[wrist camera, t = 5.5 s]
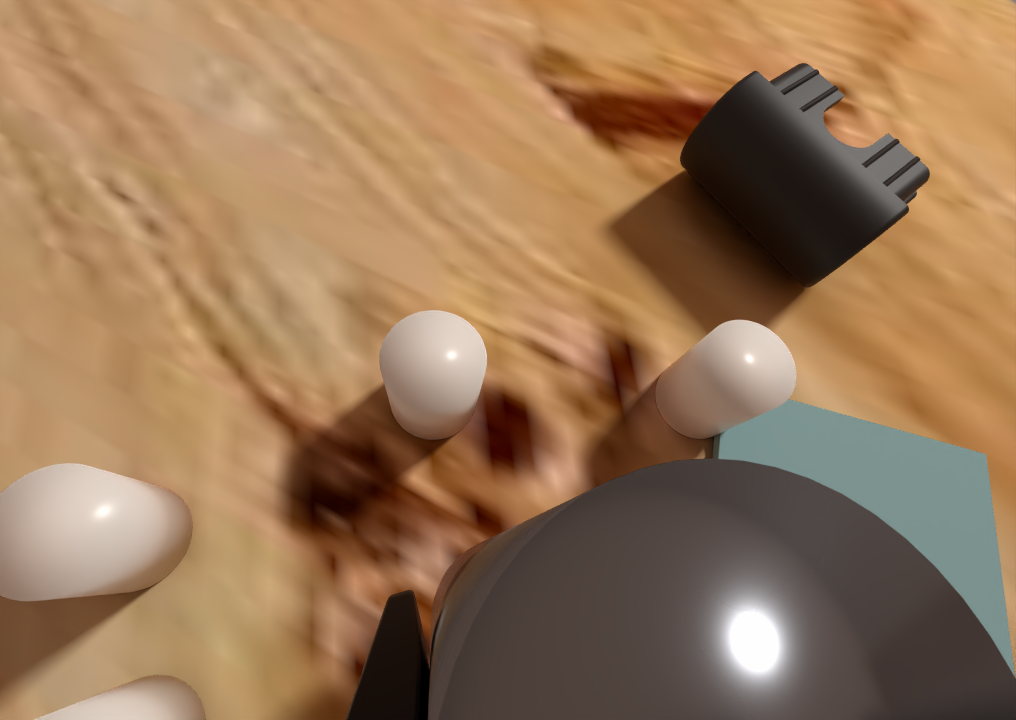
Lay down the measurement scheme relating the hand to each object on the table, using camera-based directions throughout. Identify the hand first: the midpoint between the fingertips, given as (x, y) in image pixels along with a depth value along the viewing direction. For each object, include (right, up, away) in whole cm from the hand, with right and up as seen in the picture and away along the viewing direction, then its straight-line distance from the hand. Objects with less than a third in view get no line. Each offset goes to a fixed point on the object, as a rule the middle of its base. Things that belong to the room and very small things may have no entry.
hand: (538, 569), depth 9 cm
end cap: (+14, +12, +22) cm, 29 cm away
